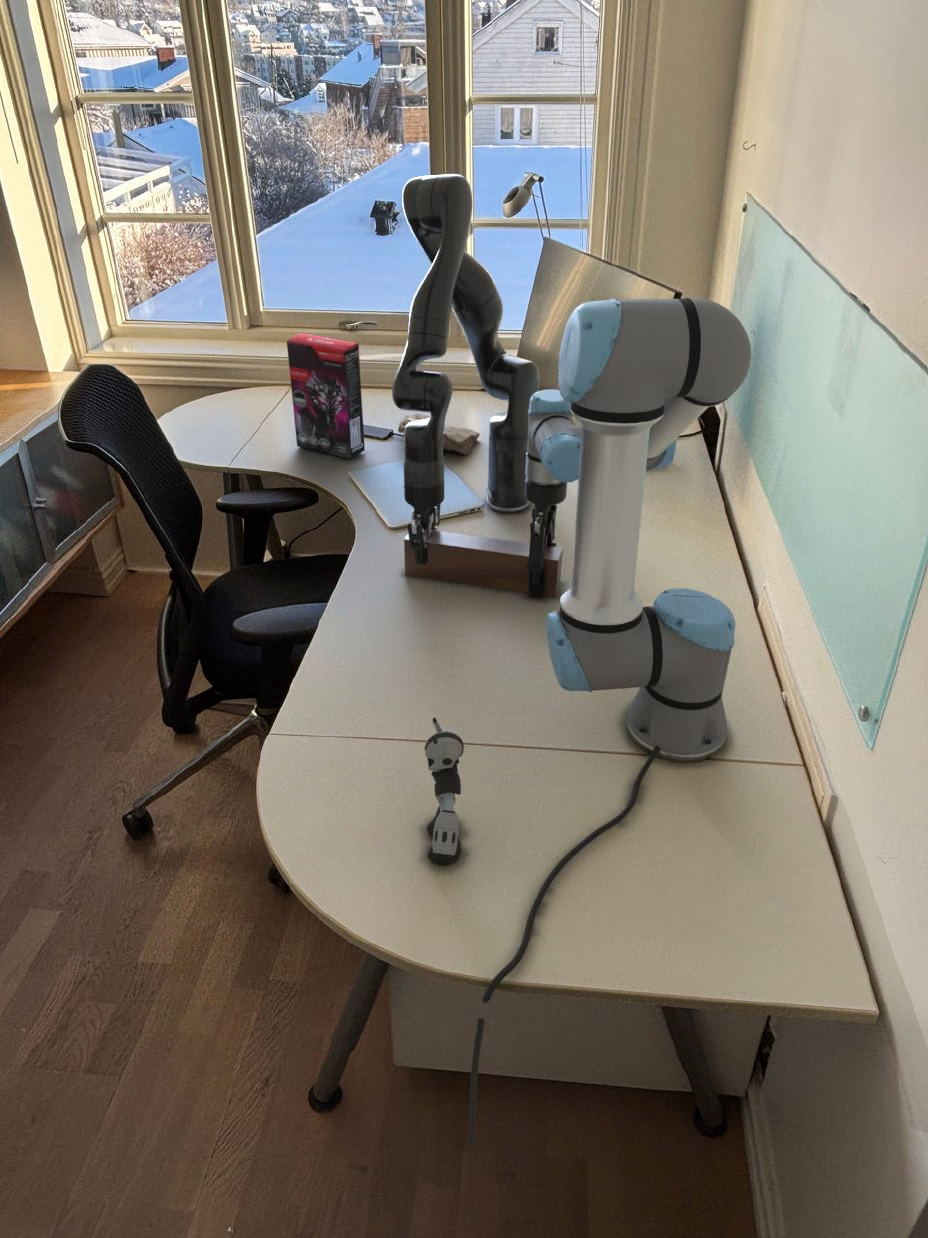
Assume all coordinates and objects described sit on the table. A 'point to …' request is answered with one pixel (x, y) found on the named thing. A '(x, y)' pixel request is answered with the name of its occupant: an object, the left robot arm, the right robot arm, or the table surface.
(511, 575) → the beam
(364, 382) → the table surface
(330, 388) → the graphics card box
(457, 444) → the stone
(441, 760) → the robot
